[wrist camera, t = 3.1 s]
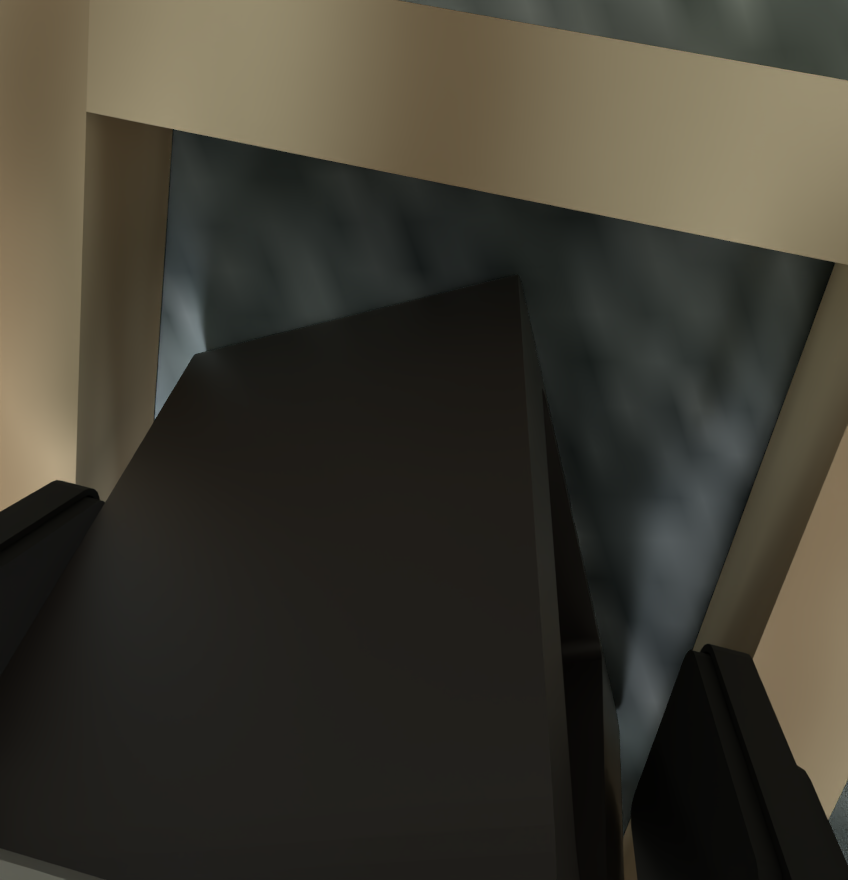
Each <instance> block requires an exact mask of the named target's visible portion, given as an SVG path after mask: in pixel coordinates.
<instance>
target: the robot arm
mask: <svg viewBox="0 0 848 880" xmlns="http://www.w3.org/2000/svg"><path fill="white" fill-rule="evenodd" d="M104 504H105V502H104V501H101V500H100V497H99V494H98V492H97V491H96V490H95V489H93V488H89V487H85V486H81V485H77V484H73V483H69V482H65V481H61V480H55V481H52V482H50V483H49V484H47V485H45V486H43V487H42V488H40V489H38V490H37V491H35V492H33V493H31V494H30V495H28V496H26V497H25V498H23V499H21V500H19V501H18V502H16V503H14V504H12V505H11V506H9V507H7V508H6V509H4V510H2V511H0V676H1V674H2V673H3V671H4V670H5V668H6V666H7V665H8V663H9V661H10V660H11V658H12V656H13V655H14V653H15V651H16V650H17V648H18V646H19V645H20V643H21V641H22V640H23V638H24V636H25V635H26V633H27V631H28V630H29V628H30V626H31V625H32V623H33V621H34V620H35V618H36V616H37V615H38V613H39V611H40V610H41V608H42V606H43V605H44V603H45V601H46V600H47V598H48V597H49V595H50V593H51V592H52V590H53V588H54V587H55V585H56V583H57V582H58V580H59V578H60V577H61V575H62V573H63V572H64V570H65V568H66V567H67V565H68V563H69V562H70V560H71V558H72V557H73V555H74V553H75V552H76V550H77V548H78V547H79V545H80V543H81V542H82V540H83V538H84V537H85V535H86V533H87V532H88V530H89V528H90V527H91V525H92V523H93V522H94V520H95V519H96V517H97V515H98V514H99V512H100V510H101V509H102V507H103V505H104ZM631 830H632V838H633V847H634V855H635V864H636V872H637V880H848V865H847V863H846V860H845V858H844V856H843V853H842V851H841V849H840V846H839V844H838V842H837V839H836V837H835V835H834V833H833V830H832V828H831V826H830V823H829V821H828V819H827V816H826V814H825V812H824V809H823V807H822V805H821V802H820V800H819V798H818V795H817V793H816V791H815V789H814V786H813V784H812V782H811V779H810V778H809V776H808V774H807V773H806V771H805V770H804V769H802V768H801V767H799V766H798V765H797V764H796V762H795V759H794V757H793V755H792V752H791V750H790V747H789V745H788V743H787V740H786V738H785V736H784V733H783V731H782V728H781V726H780V724H779V721H778V719H777V716H776V714H775V712H774V709H773V707H772V704H771V702H770V700H769V697H768V695H767V693H766V690H765V688H764V685H763V683H762V681H761V678H760V676H759V673H758V671H757V669H756V666H755V664H754V661H753V659H752V657H751V656H750V654H747V653H744V652H740V651H736V650H732V649H728V648H724V647H720V646H716V645H712V644H706V645H704V646H703V648H702V649H701V651H700V652H697V651H693V650H690V651H688V653H687V654H686V656H685V658H684V661H683V663H682V666H681V669H680V672H679V674H678V677H677V680H676V682H675V685H674V688H673V691H672V693H671V696H670V699H669V702H668V704H667V707H666V710H665V712H664V715H663V718H662V721H661V723H660V726H659V729H658V731H657V734H656V737H655V740H654V742H653V745H652V748H651V751H650V753H649V756H648V759H647V761H646V764H645V767H644V770H643V772H642V775H641V778H640V781H639V783H638V786H637V789H636V791H635V794H634V798H633V802H632V808H631ZM0 880H104V879H101V878H98V877H94V876H91V875H88V874H85V873H81V872H78V871H75V870H71V869H68V868H65V867H61V866H58V865H55V864H51V863H48V862H44V861H41V860H38V859H34V858H31V857H28V856H24V855H21V854H18V853H14V852H11V851H7V850H4V849H1V848H0Z"/></svg>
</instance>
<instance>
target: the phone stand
mask: <svg viewBox="0 0 848 880" xmlns="http://www.w3.org/2000/svg"><path fill="white" fill-rule="evenodd" d="M0 848H1V849H4V850H7V851H11V852H14V853H18V854H21V855H24V856H28V857H31V858H34V859H38V860H41V861H44V862H48V863H51V864H55V865H58V866H61V867H65V868H68V869H71V870H75V871H78V872H81V873H85V874H88V875H91V876H94V877H98V878H101V879H104V880H624V854H623V824H622V793H621V763H620V733H619V725H618V719H617V713H616V708H615V703H614V698H613V694H612V689H611V685H610V680H609V676H608V671H607V667H606V662H605V658H604V653H603V649H602V644H601V640H600V635H599V631H598V626H597V621H596V617H595V612H594V608H593V603H592V599H591V594H590V590H589V585H588V581H587V576H586V572H585V567H584V563H583V558H582V554H581V549H580V545H579V540H578V536H577V531H576V526H575V523H574V520H573V516H572V511H571V504H570V499H569V495H568V490H567V486H566V481H565V477H564V472H563V468H562V463H561V459H560V454H559V450H558V445H557V441H556V436H555V432H554V427H553V422H552V418H551V413H550V409H549V404H548V400H547V395H546V391H545V386H544V382H543V377H542V373H541V368H540V364H539V359H538V355H537V350H536V346H535V341H534V337H533V332H532V327H531V323H530V318H529V314H528V309H527V305H526V300H525V296H524V291H523V287H522V283H521V280H520V276H519V274H516V275H512V276H508V277H504V278H500V279H496V280H492V281H488V282H484V283H480V284H476V285H472V286H468V287H464V288H460V289H456V290H452V291H447V292H443V293H439V294H435V295H431V296H427V297H423V298H419V299H415V300H411V301H407V302H403V303H399V304H395V305H391V306H387V307H383V308H379V309H375V310H371V311H367V312H363V313H359V314H355V315H351V316H347V317H343V318H339V319H335V320H331V321H327V322H323V323H319V324H315V325H311V326H307V327H303V328H299V329H295V330H291V331H287V332H282V333H278V334H274V335H270V336H266V337H262V338H258V339H254V340H250V341H246V342H242V343H238V344H234V345H230V346H226V347H222V348H218V349H214V350H210V351H206V352H202V353H198V354H195V355H194V356H193V358H192V359H191V361H190V363H189V364H188V366H187V368H186V369H185V371H184V373H183V374H182V376H181V377H180V379H179V381H178V382H177V384H176V386H175V387H174V389H173V391H172V392H171V394H170V396H169V397H168V399H167V401H166V402H165V404H164V406H163V407H162V409H161V411H160V412H159V414H158V416H157V417H156V419H155V421H154V422H153V424H152V426H151V427H150V429H149V431H148V432H147V434H146V436H145V437H144V439H143V441H142V442H141V444H140V446H139V447H138V449H137V450H136V452H135V454H134V455H133V457H132V459H131V460H130V462H129V464H128V465H127V467H126V469H125V470H124V472H123V474H122V475H121V477H120V479H119V480H118V482H117V484H116V485H115V487H114V489H113V490H112V492H111V494H110V495H109V497H108V499H107V500H106V502H105V504H104V505H103V507H102V509H101V510H100V512H99V514H98V515H97V517H96V519H95V520H94V522H93V523H92V525H91V527H90V528H89V530H88V532H87V533H86V535H85V537H84V538H83V540H82V542H81V543H80V545H79V547H78V548H77V550H76V552H75V553H74V555H73V557H72V558H71V560H70V562H69V563H68V565H67V567H66V568H65V570H64V572H63V573H62V575H61V577H60V578H59V580H58V582H57V583H56V585H55V587H54V588H53V590H52V592H51V593H50V595H49V597H48V598H47V600H46V601H45V603H44V605H43V606H42V608H41V610H40V611H39V613H38V615H37V616H36V618H35V620H34V621H33V623H32V625H31V626H30V628H29V630H28V631H27V633H26V635H25V636H24V638H23V640H22V641H21V643H20V645H19V646H18V648H17V650H16V651H15V653H14V655H13V656H12V658H11V660H10V661H9V663H8V665H7V666H6V668H5V670H4V671H3V673H2V674H1V676H0Z"/></svg>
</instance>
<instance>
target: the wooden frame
mask: <svg viewBox="0 0 848 880" xmlns="http://www.w3.org/2000/svg"><path fill="white" fill-rule="evenodd" d="M173 129H175V130H180V131H185V132H190V133H195V134H200V135H205V136H210V137H215V138H220V139H225V140H230V141H235V142H240V143H245V144H250V145H255V146H260V147H265V148H270V149H274V150H279V151H284V152H289V153H294V154H299V155H304V156H309V157H314V158H319V159H324V160H329V161H334V162H339V163H344V164H349V165H354V166H359V167H364V168H369V169H374V170H379V171H384V172H389V173H394V174H399V175H404V176H409V177H414V178H419V179H424V180H429V181H433V182H438V183H443V184H448V185H453V186H458V187H463V188H468V189H473V190H478V191H483V192H488V193H493V194H498V195H503V196H508V197H513V198H518V199H523V200H528V201H533V202H538V203H543V204H548V205H553V206H558V207H563V208H568V209H573V210H578V211H583V212H588V213H592V214H597V215H602V216H607V217H612V218H617V219H622V220H627V221H632V222H637V223H642V224H647V225H652V226H657V227H662V228H667V229H672V230H677V231H682V232H687V233H692V234H697V235H702V236H707V237H712V238H717V239H722V240H727V241H732V242H737V243H742V244H747V245H751V246H756V247H761V248H766V249H771V250H776V251H781V252H786V253H791V254H796V255H801V256H806V257H811V258H816V259H821V260H826V261H831V262H836V263H835V265H834V268H833V271H832V273H831V276H830V279H829V282H828V284H827V287H826V290H825V292H824V295H823V298H822V301H821V303H820V306H819V309H818V311H817V314H816V317H815V320H814V322H813V325H812V328H811V330H810V333H809V336H808V339H807V341H806V344H805V347H804V349H803V352H802V355H801V358H800V360H799V363H798V366H797V368H796V371H795V374H794V376H793V379H792V382H791V385H790V387H789V390H788V393H787V395H786V398H785V401H784V404H783V406H782V409H781V412H780V414H779V417H778V420H777V423H776V425H775V428H774V431H773V433H772V436H771V439H770V442H769V444H768V447H767V450H766V452H765V455H764V458H763V461H762V463H761V466H760V469H759V471H758V474H757V477H756V479H755V482H754V485H753V488H752V490H751V493H750V496H749V498H748V501H747V504H746V507H745V509H744V512H743V515H742V517H741V520H740V523H739V526H738V528H737V531H736V534H735V536H734V539H733V542H732V545H731V547H730V550H729V553H728V555H727V558H726V561H725V564H724V566H723V569H722V572H721V574H720V577H719V580H718V583H717V585H716V588H715V591H714V593H713V596H712V599H711V601H710V604H709V607H708V610H707V612H706V615H705V618H704V620H703V623H702V626H701V629H700V631H699V634H698V637H697V639H696V642H695V645H694V648H693V651H697V652H700V651H701V649H702V648H703V646H704V645H706V644H712V645H716V646H720V647H724V648H728V649H732V650H736V651H740V652H744V653H747V654H750V656H751V657H752V659H753V661H754V664H755V666H756V669H757V671H758V673H759V676H760V678H761V681H762V683H763V685H764V688H765V690H766V693H767V695H768V697H769V700H770V702H771V704H772V707H773V709H774V712H775V714H776V716H777V719H778V721H779V724H780V726H781V728H782V731H783V733H784V736H785V738H786V740H787V743H788V745H789V747H790V750H791V752H792V755H793V757H794V759H795V762H796V764H797V765H798V766H799V767H801V768H802V769H804V770H805V771H806V773H807V774H808V776H809V778H810V779H811V782H812V784H813V786H814V789H815V791H816V793H817V795H818V798H819V800H820V802H821V805H822V807H823V809H824V812H825V814H826V816H827V819H829V817H830V815H831V813H832V811H833V809H834V807H835V805H836V803H837V801H838V799H839V797H840V795H841V793H842V791H843V788H844V786H845V784H846V782H847V780H848V81H847V80H842V79H836V78H831V77H825V76H819V75H814V74H808V73H803V72H797V71H791V70H786V69H780V68H775V67H769V66H763V65H758V64H752V63H747V62H741V61H735V60H730V59H724V58H719V57H713V56H707V55H702V54H696V53H690V52H685V51H679V50H674V49H668V48H662V47H657V46H651V45H646V44H640V43H634V42H629V41H623V40H618V39H612V38H606V37H601V36H595V35H590V34H584V33H578V32H573V31H567V30H562V29H556V28H550V27H545V26H539V25H533V24H528V23H522V22H517V21H511V20H505V19H500V18H494V17H489V16H483V15H477V14H472V13H466V12H461V11H455V10H449V9H444V8H438V7H433V6H427V5H421V4H416V3H410V2H405V1H399V0H0V511H2V510H4V509H6V508H7V507H9V506H11V505H12V504H14V503H16V502H18V501H19V500H21V499H23V498H25V497H26V496H28V495H30V494H31V493H33V492H35V491H37V490H38V489H40V488H42V487H43V486H45V485H47V484H49V483H50V482H52V481H55V480H61V481H65V482H69V483H73V484H77V485H81V486H85V487H89V488H93V489H95V490H96V491H97V492H98V494H99V497H100V500H101V501H104V502H106V500H107V499H108V497H109V495H110V494H111V492H112V490H113V489H114V487H115V485H116V484H117V482H118V480H119V479H120V477H121V475H122V474H123V472H124V470H125V469H126V467H127V465H128V464H129V462H130V460H131V459H132V457H133V455H134V454H135V452H136V450H137V449H138V447H139V446H140V444H141V442H142V441H143V439H144V437H145V436H146V434H147V432H148V431H149V429H150V427H151V426H152V424H153V422H154V406H155V391H156V376H157V361H158V346H159V331H160V316H161V301H162V285H163V270H164V255H165V240H166V225H167V210H168V195H169V180H170V164H171V149H172V134H173ZM623 854H624V880H637V872H636V864H635V855H634V847H633V838H632V830H631V818H630V821H629V824H628V826H627V829H626V832H625V835H624V837H623Z"/></svg>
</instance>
